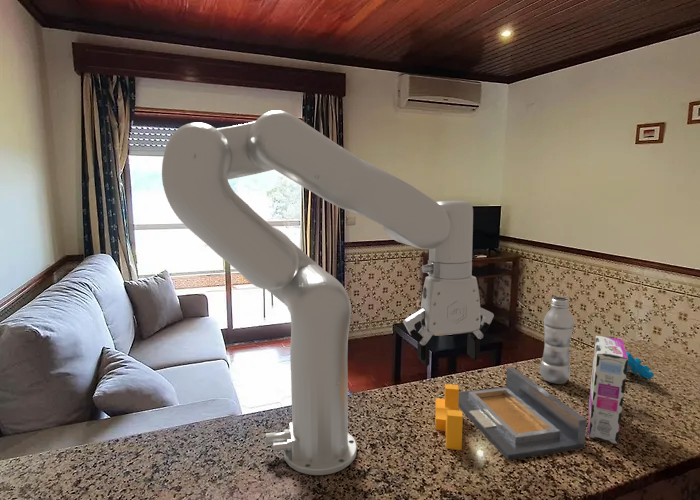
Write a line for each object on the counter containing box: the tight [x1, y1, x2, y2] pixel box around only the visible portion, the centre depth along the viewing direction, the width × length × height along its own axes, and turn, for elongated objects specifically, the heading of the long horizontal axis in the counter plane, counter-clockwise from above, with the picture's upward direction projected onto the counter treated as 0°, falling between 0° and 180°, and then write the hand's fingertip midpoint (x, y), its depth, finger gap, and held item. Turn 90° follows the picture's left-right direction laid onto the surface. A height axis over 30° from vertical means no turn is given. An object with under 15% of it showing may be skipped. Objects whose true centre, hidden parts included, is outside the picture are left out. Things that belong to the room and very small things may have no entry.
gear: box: [626, 351, 655, 380], centre depth 102 cm, size 11×6×10 cm
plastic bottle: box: [539, 296, 575, 385], centre depth 99 cm, size 6×7×20 cm
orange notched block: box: [434, 383, 464, 451], centre depth 81 cm, size 12×4×6 cm, turn 170°
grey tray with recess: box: [459, 366, 588, 461], centre depth 84 cm, size 15×22×6 cm
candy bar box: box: [587, 335, 628, 445], centre depth 80 cm, size 11×5×16 cm, turn 152°
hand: (448, 360), depth 79 cm, fingers open, 9 cm apart
